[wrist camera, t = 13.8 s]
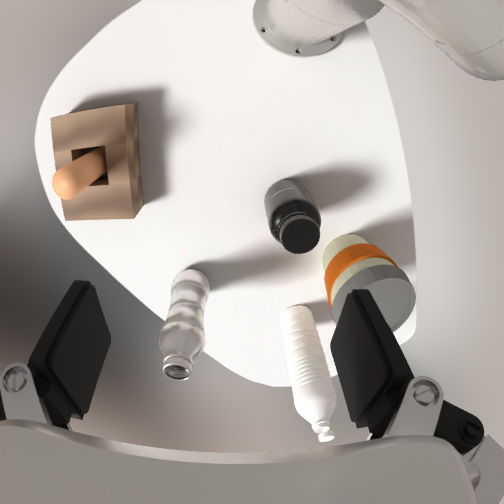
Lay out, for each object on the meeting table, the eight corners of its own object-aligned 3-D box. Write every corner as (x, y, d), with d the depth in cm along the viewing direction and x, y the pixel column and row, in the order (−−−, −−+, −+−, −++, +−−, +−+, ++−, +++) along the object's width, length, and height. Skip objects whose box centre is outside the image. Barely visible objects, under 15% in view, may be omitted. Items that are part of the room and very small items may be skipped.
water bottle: (275, 311, 56) (294, 429, 34) (307, 300, 55) (340, 416, 33) (288, 338, 60) (308, 446, 38) (317, 328, 59) (348, 435, 37)
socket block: (67, 113, 34) (50, 118, 30) (137, 102, 35) (124, 104, 31) (79, 207, 42) (65, 220, 38) (143, 205, 43) (133, 218, 39)
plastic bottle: (166, 279, 50) (141, 370, 33) (191, 257, 48) (172, 349, 31) (192, 300, 53) (180, 391, 36) (218, 280, 51) (213, 374, 34)
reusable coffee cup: (385, 264, 52) (421, 317, 39) (328, 295, 54) (351, 355, 42) (365, 211, 46) (409, 259, 33) (300, 247, 49) (323, 306, 36)
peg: (91, 147, 38) (50, 169, 27) (114, 145, 38) (76, 166, 28) (94, 172, 40) (55, 200, 29) (116, 170, 40) (81, 198, 30)
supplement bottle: (277, 170, 42) (292, 199, 31) (315, 191, 44) (340, 225, 33) (255, 208, 45) (261, 248, 34) (293, 226, 47) (309, 269, 36)
